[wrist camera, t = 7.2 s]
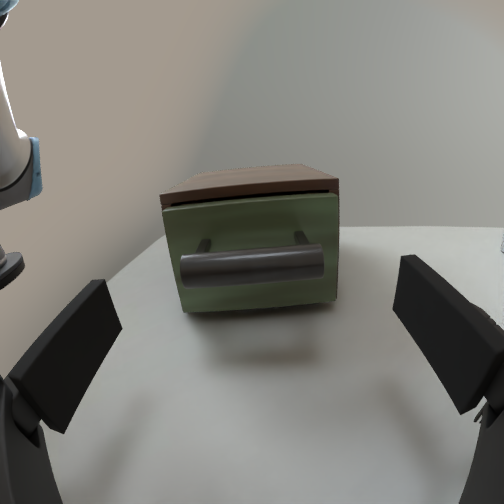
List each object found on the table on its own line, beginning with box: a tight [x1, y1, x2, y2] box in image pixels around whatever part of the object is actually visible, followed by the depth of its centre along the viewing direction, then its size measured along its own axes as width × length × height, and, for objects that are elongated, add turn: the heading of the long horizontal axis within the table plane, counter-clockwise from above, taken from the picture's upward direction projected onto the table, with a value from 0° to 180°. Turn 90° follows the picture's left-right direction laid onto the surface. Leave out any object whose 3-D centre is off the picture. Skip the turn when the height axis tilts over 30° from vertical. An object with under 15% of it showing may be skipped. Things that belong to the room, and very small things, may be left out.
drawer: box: [162, 190, 338, 312], centre depth 23 cm, size 20×11×8 cm, turn 0°
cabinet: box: [160, 164, 339, 298], centre depth 27 cm, size 16×13×10 cm
